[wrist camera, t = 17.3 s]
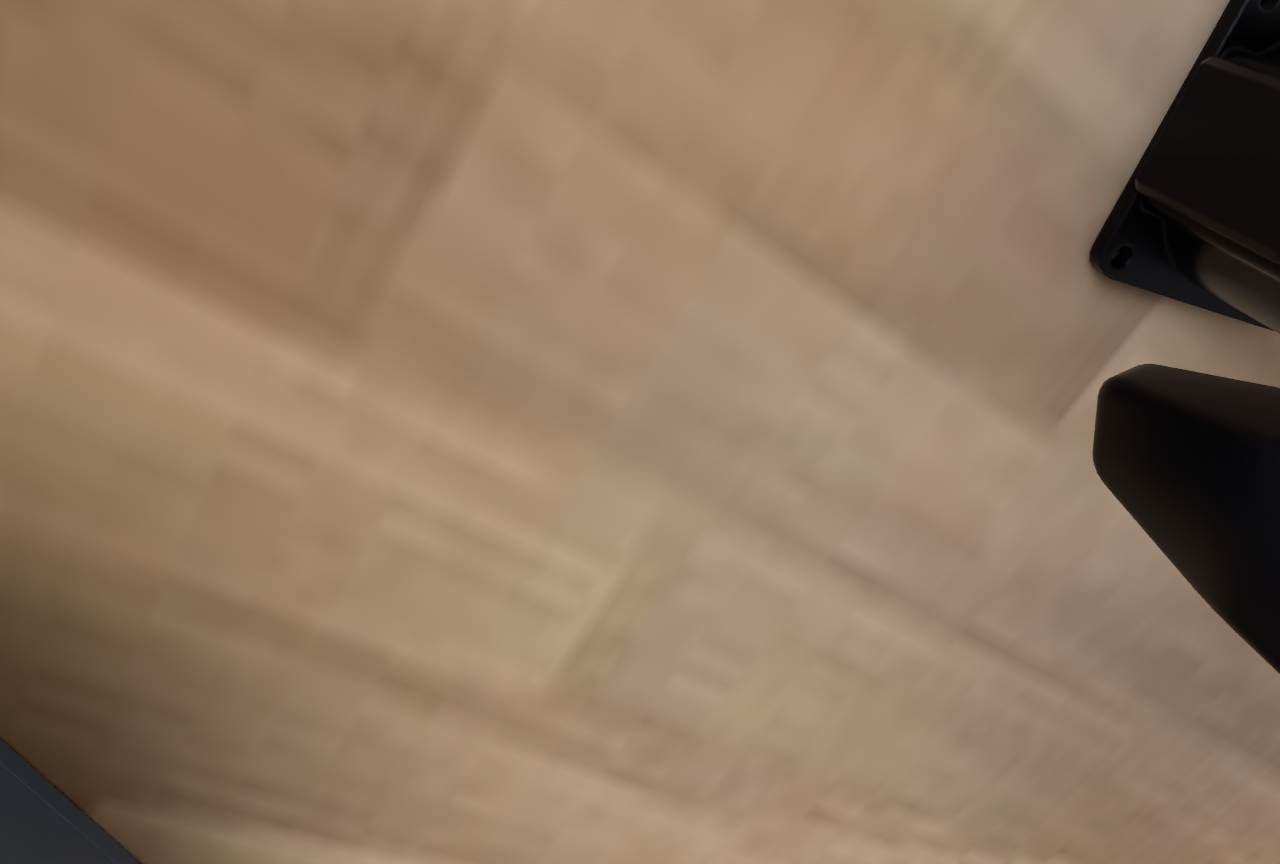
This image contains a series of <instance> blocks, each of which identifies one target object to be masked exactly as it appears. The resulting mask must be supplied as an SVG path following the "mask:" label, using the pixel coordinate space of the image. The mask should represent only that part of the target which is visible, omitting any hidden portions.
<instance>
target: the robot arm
mask: <svg viewBox="0 0 1280 864" xmlns="http://www.w3.org/2000/svg"><path fill="white" fill-rule="evenodd" d="M1118 248H1120V250H1119V253H1118V254H1117V255H1116V256H1115V258H1113V259H1112V256H1113V254H1114V253H1115V251H1116V250H1117V249H1118ZM1090 263H1091V265H1092V267H1093V268H1094V269H1096V270H1097V271H1099V272H1100V273H1102V274H1103V275H1105V276H1107V277H1108V278H1110V279H1113V280H1116V281H1119V282H1123V283H1126V284H1129V285H1132V286H1135V287H1138V288H1141V289H1144V290H1148V291H1151V292H1154V293H1157V294H1160V295H1163V296H1166V297H1170V298H1173V299H1176V300H1179V301H1182V302H1185V303H1188V304H1191V305H1195V306H1198V307H1201V308H1204V309H1207V310H1210V311H1213V312H1216V313H1220V314H1223V315H1226V316H1229V317H1232V318H1235V319H1238V320H1242V321H1245V322H1248V323H1251V324H1254V325H1257V326H1260V327H1263V328H1267V329H1270V330H1273V331H1276V332H1278V333H1279V334H1280V0H1262V2H1261V0H1230V2H1229V3H1228V5H1227V7H1226V9H1225V11H1224V12H1223V14H1222V16H1221V18H1220V19H1219V21H1218V23H1217V25H1216V27H1215V28H1214V30H1213V32H1212V34H1211V36H1210V37H1209V39H1208V41H1207V43H1206V44H1205V46H1204V48H1203V50H1202V52H1201V53H1200V55H1199V57H1198V59H1197V60H1196V62H1195V64H1194V66H1193V68H1192V69H1191V71H1190V73H1189V75H1188V76H1187V78H1186V80H1185V82H1184V84H1183V85H1182V87H1181V89H1180V91H1179V92H1178V94H1177V96H1176V98H1175V100H1174V101H1173V103H1172V105H1171V107H1170V108H1169V110H1168V112H1167V114H1166V116H1165V117H1164V119H1163V121H1162V123H1161V124H1160V126H1159V128H1158V130H1157V132H1156V133H1155V135H1154V137H1153V139H1152V140H1151V142H1150V144H1149V146H1148V148H1147V149H1146V151H1145V153H1144V155H1143V157H1142V158H1141V160H1140V162H1139V164H1138V165H1137V167H1136V169H1135V171H1134V173H1133V174H1132V176H1131V178H1130V180H1129V181H1128V183H1127V185H1126V187H1125V189H1124V190H1123V192H1122V194H1121V196H1120V197H1119V199H1118V201H1117V203H1116V205H1115V206H1114V208H1113V210H1112V212H1111V213H1110V215H1109V217H1108V219H1107V221H1106V222H1105V224H1104V226H1103V228H1102V229H1101V231H1100V233H1099V235H1098V237H1097V238H1096V240H1095V242H1094V244H1093V246H1092V249H1091V251H1090ZM1093 461H1094V465H1095V468H1096V471H1097V473H1098V475H1099V476H1100V478H1101V480H1102V481H1103V483H1104V484H1105V485H1106V486H1107V488H1108V489H1109V490H1110V491H1111V492H1112V493H1113V495H1114V496H1115V497H1116V498H1117V499H1118V500H1119V502H1120V503H1121V504H1122V505H1123V506H1124V507H1125V509H1126V510H1127V511H1128V512H1129V513H1130V514H1131V515H1132V517H1133V518H1134V519H1135V520H1136V521H1137V522H1138V524H1139V525H1140V526H1141V527H1142V528H1143V529H1144V531H1145V532H1146V533H1147V534H1148V535H1149V536H1150V538H1151V539H1152V540H1153V541H1154V542H1155V543H1156V545H1157V546H1158V547H1159V548H1160V549H1161V550H1162V552H1163V553H1164V554H1165V555H1166V556H1167V557H1168V559H1169V560H1170V561H1171V562H1172V563H1173V564H1174V566H1175V567H1176V568H1177V569H1178V570H1179V571H1180V573H1181V574H1182V575H1183V576H1184V577H1185V578H1186V579H1187V581H1188V582H1189V583H1190V584H1191V585H1192V586H1193V588H1194V589H1195V590H1196V591H1197V592H1198V593H1199V594H1200V595H1201V597H1202V598H1203V599H1204V600H1205V601H1206V602H1207V603H1208V604H1209V605H1210V606H1211V608H1212V609H1213V610H1214V611H1215V612H1216V613H1217V614H1218V615H1219V616H1220V617H1221V618H1222V619H1223V620H1224V621H1225V622H1226V623H1227V624H1228V625H1229V626H1230V627H1231V628H1232V629H1233V630H1234V631H1235V632H1236V633H1237V634H1238V635H1239V636H1240V637H1242V638H1243V639H1244V640H1245V641H1246V642H1247V643H1248V644H1249V645H1250V646H1251V647H1252V648H1253V649H1254V650H1255V651H1256V652H1257V653H1258V654H1259V655H1260V656H1261V657H1262V658H1264V659H1265V660H1266V661H1267V662H1268V663H1269V664H1270V665H1271V666H1272V667H1273V668H1274V669H1275V670H1276V671H1277V672H1278V673H1279V674H1280V388H1277V387H1272V386H1267V385H1261V384H1256V383H1251V382H1246V381H1240V380H1235V379H1230V378H1225V377H1219V376H1214V375H1209V374H1204V373H1198V372H1193V371H1188V370H1183V369H1177V368H1172V367H1167V366H1162V365H1156V364H1143V365H1138V366H1136V367H1134V368H1131V369H1129V370H1127V371H1125V372H1122V373H1120V374H1118V375H1116V376H1113V377H1111V378H1109V379H1108V380H1106V381H1105V382H1104V383H1103V385H1102V387H1101V388H1100V390H1099V394H1098V401H1097V412H1096V422H1095V432H1094V442H1093Z"/></svg>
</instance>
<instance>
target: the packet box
mask: <svg viewBox="0 0 1280 864" xmlns="http://www.w3.org/2000/svg"><path fill="white" fill-rule="evenodd" d="M0 864H141V863H140V862H138V861H137V860H136V859H135V858H134V857H133V856H132V855H131V854H129V853H128V852H127V851H126V850H125V849H124V848H123V847H122V846H120V845H119V844H118V843H117V842H116V841H115V840H114V839H113V838H111V837H110V836H109V835H108V834H107V833H106V832H105V831H104V830H102V829H101V828H100V827H99V826H98V825H97V824H96V823H95V822H93V821H92V820H91V819H90V818H89V817H88V816H87V815H86V814H84V813H83V812H82V811H81V810H80V809H79V808H78V807H77V806H75V805H74V804H73V803H72V802H71V801H70V800H69V799H68V798H66V797H65V796H64V795H63V794H62V793H61V792H60V791H59V790H57V789H56V788H55V787H54V786H53V785H52V784H51V783H50V782H48V781H47V780H46V779H45V778H44V777H43V776H42V775H41V774H39V773H38V772H37V771H36V770H35V769H34V768H33V767H32V766H30V765H29V764H28V763H27V762H26V761H25V760H24V759H23V758H21V757H20V756H19V755H18V754H17V753H16V752H15V751H14V750H12V749H11V748H10V747H9V746H8V745H7V744H6V743H5V742H4V741H2V740H1V739H0Z"/></svg>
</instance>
